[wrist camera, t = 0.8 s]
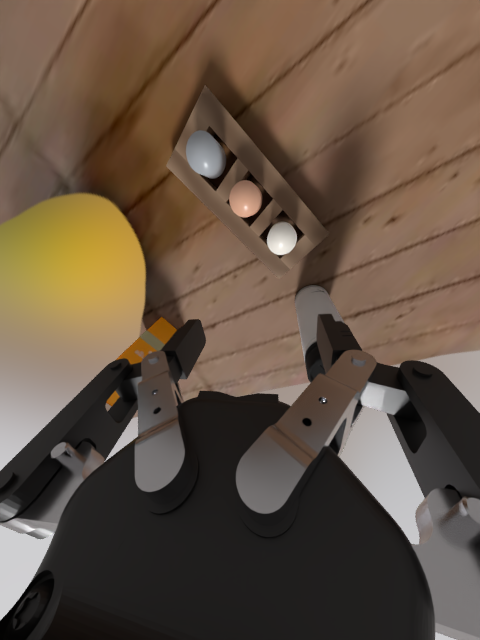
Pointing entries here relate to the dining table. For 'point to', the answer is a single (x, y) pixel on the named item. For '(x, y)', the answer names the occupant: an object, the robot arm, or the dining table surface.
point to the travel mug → (313, 324)
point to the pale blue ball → (205, 154)
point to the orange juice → (146, 346)
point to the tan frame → (249, 161)
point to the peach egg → (245, 198)
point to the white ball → (281, 238)
